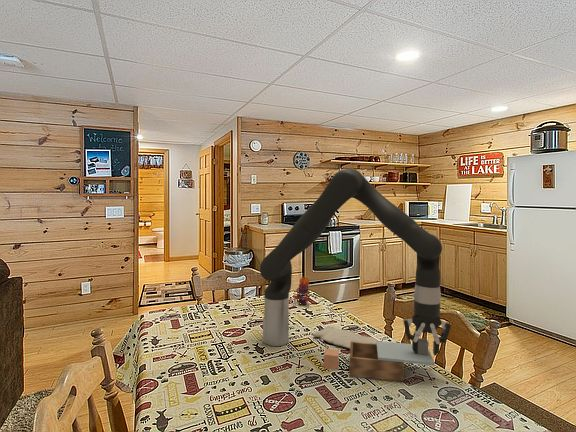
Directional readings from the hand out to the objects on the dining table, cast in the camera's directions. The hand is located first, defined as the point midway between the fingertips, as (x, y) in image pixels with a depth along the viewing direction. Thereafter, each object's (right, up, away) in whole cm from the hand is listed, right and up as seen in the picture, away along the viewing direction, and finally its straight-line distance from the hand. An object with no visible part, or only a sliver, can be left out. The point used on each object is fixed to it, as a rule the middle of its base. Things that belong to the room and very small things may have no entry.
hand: (425, 353), depth 108 cm
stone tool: (-20, -6, +24) cm, 32 cm away
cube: (-28, -7, +7) cm, 30 cm away
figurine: (-36, -3, +67) cm, 76 cm away
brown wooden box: (-15, -7, +4) cm, 17 cm away
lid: (-6, -1, +2) cm, 7 cm away
